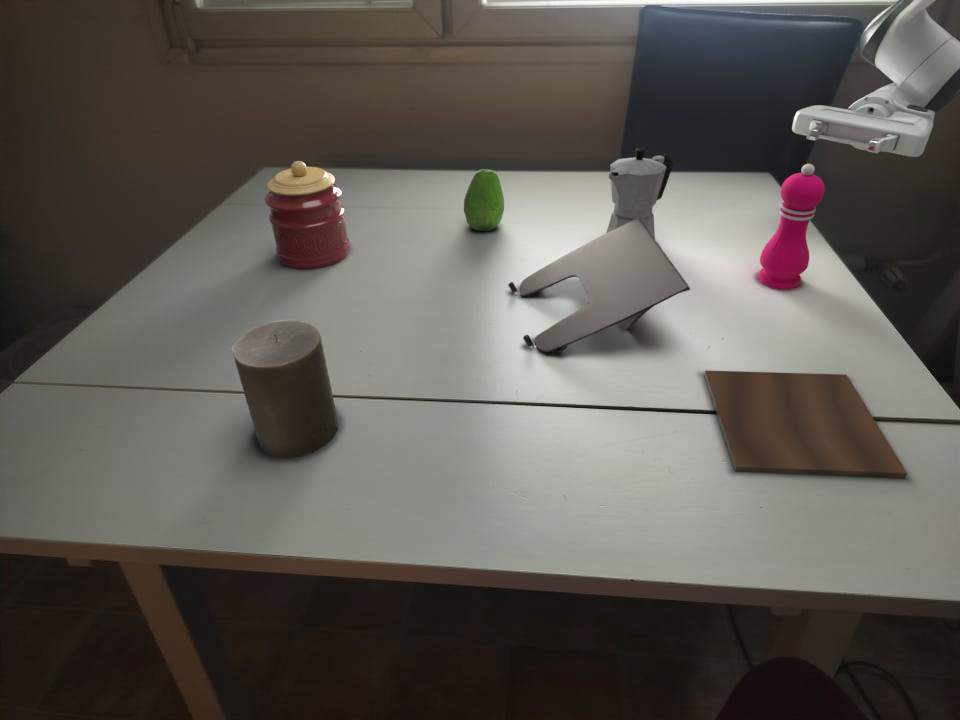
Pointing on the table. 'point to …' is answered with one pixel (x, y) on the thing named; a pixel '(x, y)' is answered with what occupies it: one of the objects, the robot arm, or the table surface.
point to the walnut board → (799, 425)
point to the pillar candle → (287, 387)
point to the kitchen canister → (307, 217)
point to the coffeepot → (637, 188)
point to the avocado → (484, 201)
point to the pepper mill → (791, 231)
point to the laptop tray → (607, 284)
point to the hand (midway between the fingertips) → (841, 141)
